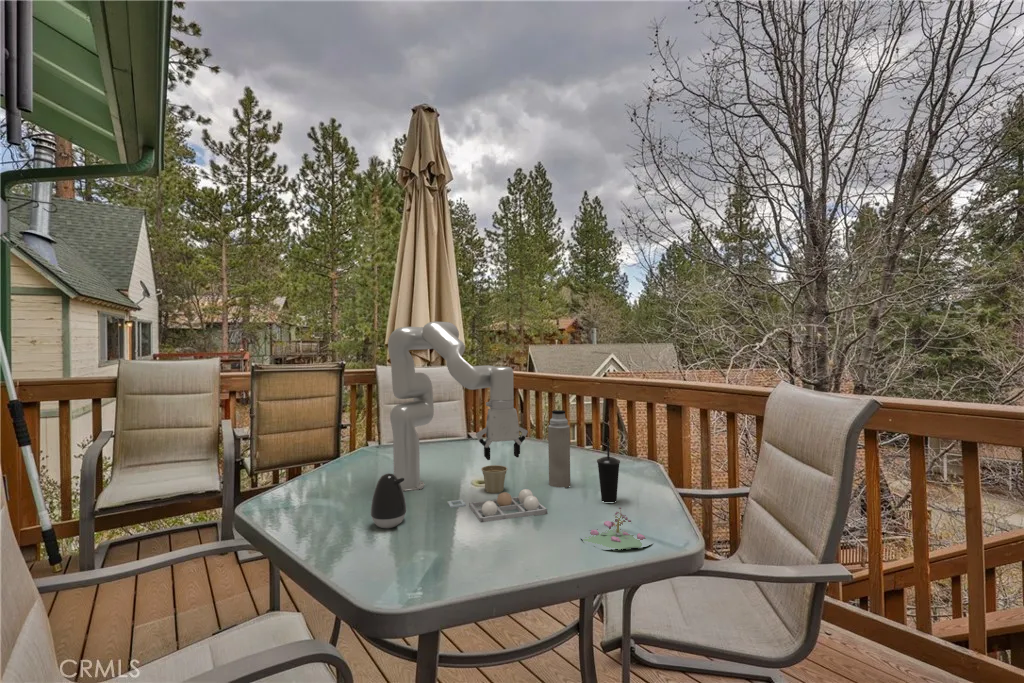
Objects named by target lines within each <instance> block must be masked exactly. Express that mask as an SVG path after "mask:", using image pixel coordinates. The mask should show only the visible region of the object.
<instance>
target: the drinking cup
mask: <svg viewBox="0 0 1024 683" xmlns="http://www.w3.org/2000/svg"><path fill="white" fill-rule="evenodd" d="M606 445H607V446H606V449H607V450H606V452H607V453H606V454H607V456H602V457H600V458H597V459H596V462H597V467H598V468H597V469H598V479H599V488H600V497H601V502H602V501H604V502H615V501H616V502H617V497H618V488H619V487H618V486H619V473H620V464H621V460H620V459H618V458H615V457H613V456H610V441H606Z"/></svg>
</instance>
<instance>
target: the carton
mask: <svg viewBox="0 0 1024 683" xmlns="http://www.w3.org/2000/svg"><path fill="white" fill-rule="evenodd" d="M511 497H512V496H511ZM486 501H493V502H494V503H495V504H496V505H497V513H496V514H495V515H494V516H487V517H486V516H482V515H483V513H482V508H477V507H482V505H483V504H484V503H485V502H486ZM518 502H519V503H518ZM468 505H469V506H468V507H469V509H471V511H472V512H473V514H474V515H475V517H476V518H477V520H478V521H479V522H480V523H486V522H492V521H493V522H494V521H499V520H508V519H515V518H522V517H528V516H534V517H536V516H541V515H542V516H543V515H548V509H547V507H545V506H544V505H543V504H541V503H540V502H539V506H538V508H537V510H531V511H527V510H526V509H525V507H524V503H523V504H522V503H521V502H520V501H519V496H513V497H512V503H511V505H508V506H499V505H498V503H497V498H496V499H490V500H489V499H488V500H483V501H482V500H481V501H474V502H469V503H468ZM510 510H516V512H510V513H504V511H510ZM517 511H518V512H517Z"/></svg>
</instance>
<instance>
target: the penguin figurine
mask: <svg viewBox="0 0 1024 683" xmlns="http://www.w3.org/2000/svg"><path fill="white" fill-rule="evenodd" d="M403 481H404V478H400V479H398V478H397V477H396V476H395V475H394V473H385V474H383V475H382V476H381V477H380V478H379V480H378V481H377V483H376V486H375V488H374V492H373V495H372V500H371V505H370V517H371V518H372V521H373V523H374V524H375V525H376V526H377V527H378V528H381V529H393V528H396V527H398V525H400V524H401V523H402V522H403V521H404V519H405V517H406V514H407V503H406V497H405V492H403V489H402V487H401V484H400V483H401V482H403Z"/></svg>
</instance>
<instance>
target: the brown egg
mask: <svg viewBox="0 0 1024 683" xmlns="http://www.w3.org/2000/svg"><path fill="white" fill-rule="evenodd" d="M496 499H497V503H498V504H497V506H498V507H500V506H508V505H512V504H511V503H512V495H511V494H510V493H509V492H506V491H502V492H499V494H498V495H497V498H496Z"/></svg>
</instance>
